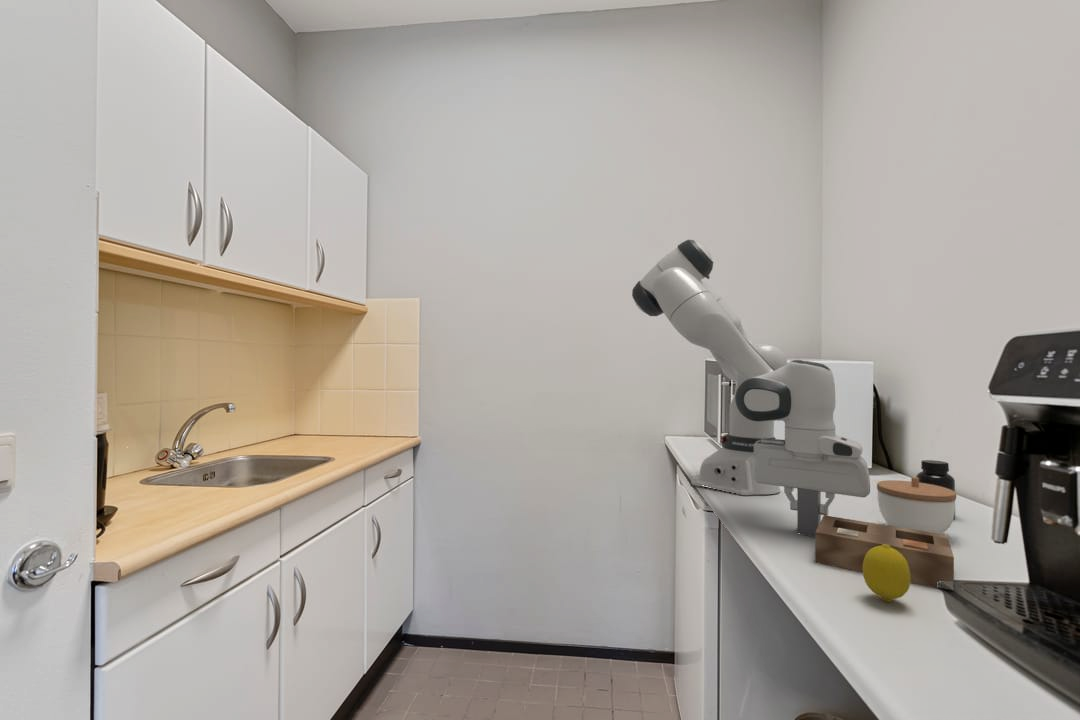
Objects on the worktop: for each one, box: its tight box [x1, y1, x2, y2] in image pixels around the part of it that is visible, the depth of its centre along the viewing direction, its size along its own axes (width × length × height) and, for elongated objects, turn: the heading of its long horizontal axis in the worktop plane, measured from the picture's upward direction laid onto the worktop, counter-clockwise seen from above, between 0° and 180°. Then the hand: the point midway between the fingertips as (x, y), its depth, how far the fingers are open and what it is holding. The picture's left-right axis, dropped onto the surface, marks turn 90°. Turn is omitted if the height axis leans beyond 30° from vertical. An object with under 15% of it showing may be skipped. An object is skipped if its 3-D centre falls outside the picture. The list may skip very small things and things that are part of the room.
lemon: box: [862, 544, 911, 603], centre depth 70 cm, size 6×6×8 cm
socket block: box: [814, 515, 955, 589], centre depth 83 cm, size 18×12×5 cm, turn 54°
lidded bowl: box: [876, 476, 957, 534], centre depth 99 cm, size 13×13×11 cm
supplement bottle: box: [916, 459, 956, 519], centre depth 111 cm, size 7×7×12 cm
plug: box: [796, 488, 822, 537], centre depth 99 cm, size 4×4×9 cm
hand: (809, 512), depth 99 cm, fingers closed on plug, 4 cm apart
